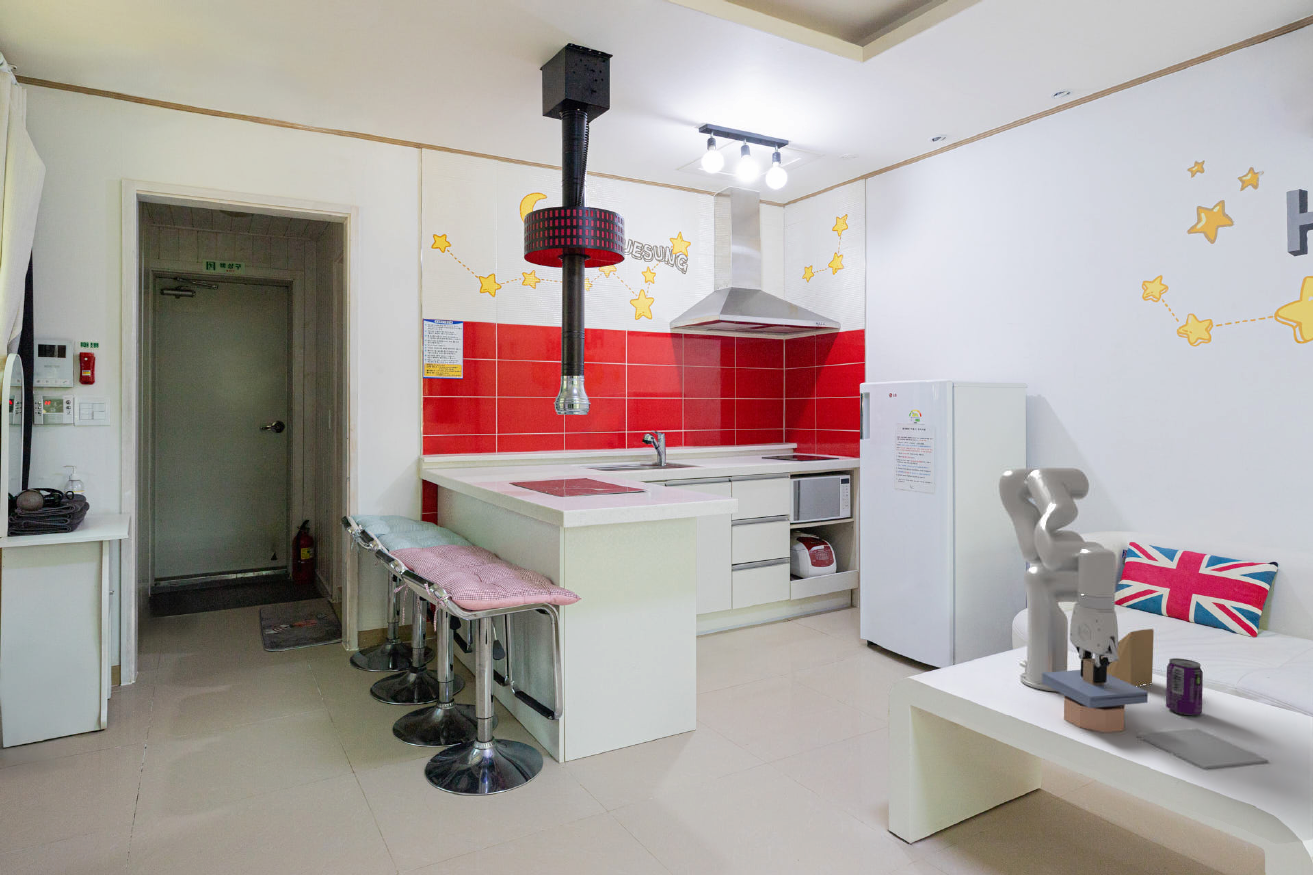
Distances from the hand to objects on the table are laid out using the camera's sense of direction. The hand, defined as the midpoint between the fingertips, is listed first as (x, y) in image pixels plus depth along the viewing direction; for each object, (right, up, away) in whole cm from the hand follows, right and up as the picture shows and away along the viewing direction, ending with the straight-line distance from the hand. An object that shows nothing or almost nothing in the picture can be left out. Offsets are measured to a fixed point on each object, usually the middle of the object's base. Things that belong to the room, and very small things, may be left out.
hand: (1093, 678), depth 174 cm
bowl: (0, -10, 0) cm, 10 cm away
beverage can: (+25, -10, +6) cm, 28 cm away
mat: (+14, -10, -15) cm, 23 cm away
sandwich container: (+24, -10, +31) cm, 40 cm away
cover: (0, -3, 0) cm, 3 cm away
